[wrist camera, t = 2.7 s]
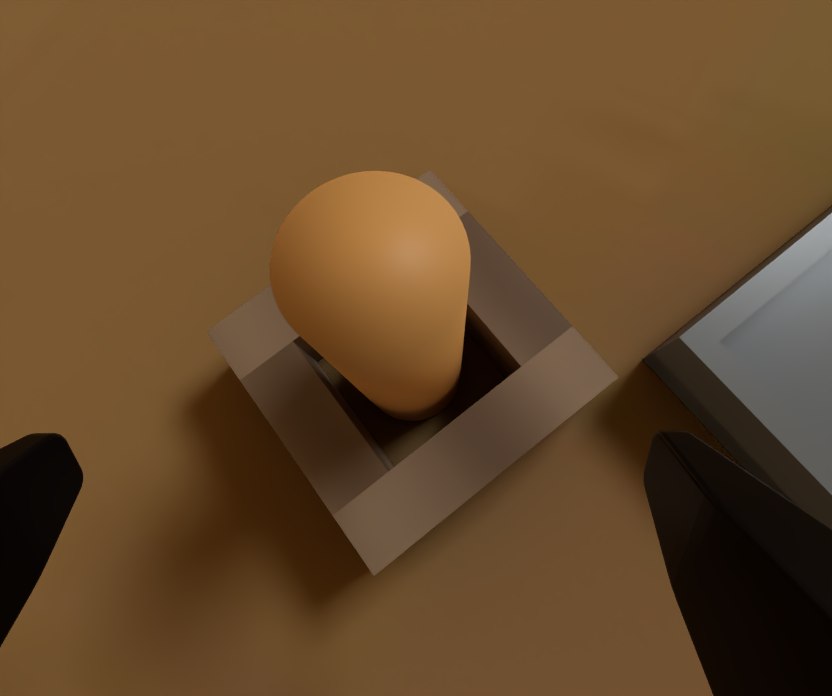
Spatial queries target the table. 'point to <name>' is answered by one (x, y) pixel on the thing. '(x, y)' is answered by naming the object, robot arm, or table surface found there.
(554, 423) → the socket block
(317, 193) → the pin
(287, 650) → the table surface
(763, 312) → the tray
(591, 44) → the table surface
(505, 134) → the table surface
